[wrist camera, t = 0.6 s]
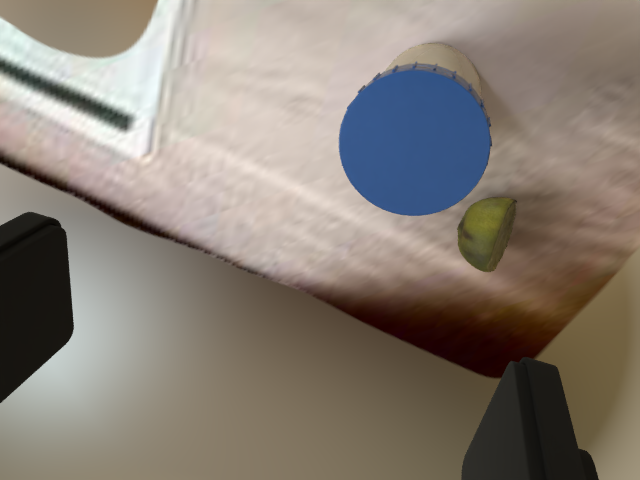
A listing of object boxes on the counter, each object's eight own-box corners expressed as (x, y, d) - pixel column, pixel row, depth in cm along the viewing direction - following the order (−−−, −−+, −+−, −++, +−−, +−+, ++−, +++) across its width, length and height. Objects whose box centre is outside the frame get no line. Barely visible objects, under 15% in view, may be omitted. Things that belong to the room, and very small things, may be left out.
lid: (402, 29, 23) (397, 34, 21) (523, 122, 23) (527, 134, 22) (320, 148, 26) (310, 159, 25) (426, 226, 27) (423, 243, 25)
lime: (508, 177, 34) (513, 207, 29) (535, 236, 35) (543, 273, 31) (445, 202, 36) (441, 234, 31) (473, 257, 37) (473, 295, 33)
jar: (421, 20, 31) (400, 43, 22) (503, 84, 31) (516, 132, 22) (360, 106, 34) (320, 155, 25) (435, 162, 35) (423, 231, 25)
